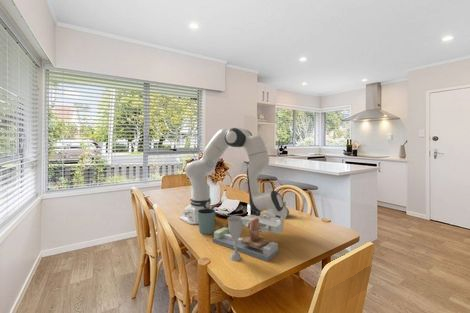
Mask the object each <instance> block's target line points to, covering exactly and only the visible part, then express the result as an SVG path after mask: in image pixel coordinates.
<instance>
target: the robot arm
mask: <svg viewBox="0 0 470 313" xmlns="http://www.w3.org/2000/svg"><path fill="white" fill-rule="evenodd" d="M229 147H233V148H238V149H240V148H243V149H245V151H246V154H247V157H248V167H247V169H246V180H247V187H248V194H249V195H248V196H249V203H248V204H250V207H251V209H252V210H253V211H255V212H257V213H258V212H260V217H259V216H255V215H248V214H247V215H246V216H242V217H243V218H244V219H243V226H245V227H244V228H246V229H250V219H251V218H258V219H259V233H265V232H269V233H273V234H277V235H278V234H280V233H282V231H284V225H285V224H284V221H285V220H286V218H287V216H288V215H287V210H286V208H287V207H286V208H285V207H284V206H283V201H284V200H283V196H282V195H281V194H280V193H279V192H278V191H277V190H270V191H266V192H261V193H260V192H259V186H258V177H259V175H260V174H261V173H262V172H263V171H264V170H265V169H266V168H267V167H268V166H269V163H270V156H269V152H268V150H267V146H266V144H265V142H264V140H263V137H261V135H258V134H254V135H253V134H252V133H251V132H250V131H249V129H248V130H247V129H244V128H238V127H232V128H229V129H227V128H220V129H219V130H218V131H216V133H215V134H214V135H213V136H212V138H211V139H210V141H209V142H208V143H207V144H206V146H204V149H203V154H202V157H201V158H200V159H198V160H192V161H191V162H189V163H187V164H186V166H185V168H184V174H185V176H186V177H187V178H189V181H190V183H191V188H192V190H191V191H192V198H190V199H189V202H190V203H189V204H188V206H186V207H185V208H184V209H183V213H182V215H180V216H179V219H180V220H182V221H183V222H185V223H186V224H187V223H188V224H189V225H199V221H198V213H197V211H198V210H200V209H205V208H211V204H212V203H211V202H212V200H211V199H212V198H211V186H210V185H209V184H208V181H207V176H210V175H211V174H213V173H214V172H215V169H216V165H217V164H218V161H219V160H220V159H221V157H223V155H224V153H225V152H226V150H227V149H228V148H229ZM211 209H212V208H211ZM261 212H262V213H261Z"/></svg>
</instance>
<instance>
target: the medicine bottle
mask: <svg viewBox="0 0 470 313" xmlns="http://www.w3.org/2000/svg"><path fill="white" fill-rule="evenodd" d="M246 209H247V212H248V214H247V216H248V215H255V216H259V217H260V215H261V212H258V213H257V212H255V211H253V210H252V209H251V207H250V204H249V203H247V208H246ZM247 212H246V213H247Z"/></svg>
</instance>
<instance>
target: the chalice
mask: <svg viewBox="0 0 470 313" xmlns="http://www.w3.org/2000/svg"><path fill="white" fill-rule="evenodd" d="M243 217H244V216H241V215H230V216H228V217H227V218H226V219H227V221H228V222H227V223H228V224H227V225H228V227H227V228H228V233H230V235H231V237H232V238H233V239H234V249H233V251H232V252H231V254H230V256H229V259H230V261H235V262H237V261H240V260H242V257H241V253H240V252H239V251H237V248H238V247H237V239H239V237H241V234H242V231H243V229H244V228H243V227H244V225H243V219H244V218H243Z"/></svg>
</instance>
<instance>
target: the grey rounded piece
mask: <svg viewBox="0 0 470 313" xmlns="http://www.w3.org/2000/svg"><path fill="white" fill-rule="evenodd" d="M286 203H287V202H286V201H285V200H283V206H284V207H285V208H286V210H287V216H288V215H289V214H290V210H289V208H287V206H286V205H287V204H286Z"/></svg>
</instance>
